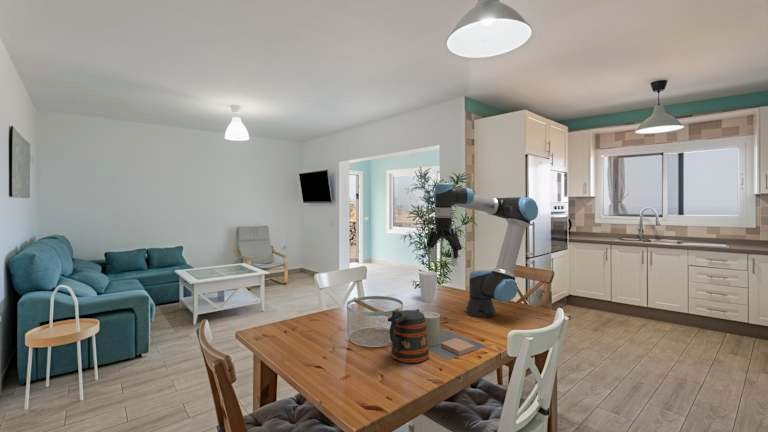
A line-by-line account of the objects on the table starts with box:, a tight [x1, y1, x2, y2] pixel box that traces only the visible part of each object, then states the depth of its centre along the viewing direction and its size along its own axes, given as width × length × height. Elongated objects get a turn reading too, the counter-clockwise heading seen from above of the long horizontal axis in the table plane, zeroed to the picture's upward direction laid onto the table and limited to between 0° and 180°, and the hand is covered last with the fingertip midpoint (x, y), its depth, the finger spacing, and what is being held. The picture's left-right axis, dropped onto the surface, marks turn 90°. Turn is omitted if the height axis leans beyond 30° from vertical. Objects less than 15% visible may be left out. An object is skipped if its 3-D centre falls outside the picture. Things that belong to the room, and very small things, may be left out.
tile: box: [441, 338, 476, 357], centre depth 144 cm, size 2×10×9 cm
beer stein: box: [387, 308, 430, 364], centre depth 138 cm, size 19×15×20 cm
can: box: [420, 310, 441, 346], centre depth 151 cm, size 9×9×12 cm
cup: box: [418, 270, 438, 303], centre depth 218 cm, size 11×10×17 cm
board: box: [428, 330, 487, 361], centre depth 149 cm, size 22×22×1 cm
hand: (443, 263), depth 164 cm, fingers open, 13 cm apart
